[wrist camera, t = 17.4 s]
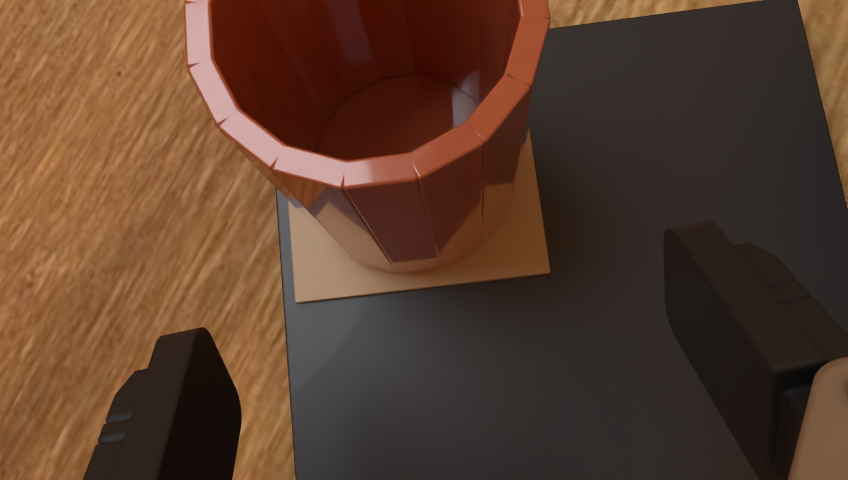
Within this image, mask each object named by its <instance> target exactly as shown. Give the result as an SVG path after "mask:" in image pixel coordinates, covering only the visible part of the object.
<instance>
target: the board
mask: <svg viewBox="0 0 848 480" xmlns="http://www.w3.org/2000/svg"><path fill="white" fill-rule="evenodd" d="M276 201H277V216H278V230H279V245H280V259H281V274H282V288H283V303H284V318H285V332H286V347H287V361H288V376H289V390H290V405H291V419H292V434H293V448H294V463H295V478H296V480H759V479H758V477H757V476H756V474H755V472H754V471H753V469H752V467H751V465H750V464H749V462H748V460H747V459H746V457H745V455H744V454H743V452H742V450H741V448H740V447H739V445H738V443H737V442H736V440H735V438H734V437H733V435H732V433H731V431H730V430H729V428H728V426H727V425H726V423H725V421H724V420H723V418H722V416H721V414H720V413H719V411H718V409H717V408H716V406H715V404H714V402H713V401H712V399H711V397H710V396H709V394H708V392H707V391H706V389H705V387H704V385H703V384H702V382H701V380H700V379H699V377H698V375H697V374H696V372H695V370H694V368H693V367H692V365H691V363H690V362H689V360H688V358H687V357H686V355H685V353H684V351H683V350H682V348H681V346H680V345H679V343H678V341H677V339H676V338H675V336H674V334H673V332H672V329H671V327H670V324H669V321H668V317H667V313H666V308H665V293H664V246H663V239H664V233H665V231H666V230H667V229H672V228H677V227H682V226H686V225H691V224H696V223H700V222H705V221H713V222H714V223H715V224H716V225H717V226H718V227H719V228H720V230H721V231H722V232H723V233H724V234H725V236H726V237H727V238H728V239H729V240H730V242H731V243H732V244H733V245H734V246H735V245H740V244H745V243H749V242H750V243H752V244H754V245H756V246H758V247H760V248H761V249H763V250H765V251H767V252H769V253H771V254H773V255H775V256H777V257H778V258H779V259H780V260H781V261H782V262H783V263H784V265H785V266H786V267H787V268H788V269H789V270H790V271H791V272H792V273H793V275H794V276H795V278H796V281H800V282H801V283H802V285H803V286H804V287H805V288H806V289H807V290H808V291H809V292H810V296H811V298H812V297H814V298H815V299H816V300H817V301H818V302H819V303H820V305H821V306H822V307H823V308H824V309H825V310H826V311H827V312H828V313H829V315H830V316H831V317H832V318H833V319H834V320H835V321H836V322H837V323H838V324H839V326H840V327H841V328H842V329H843V330H844V331H845V332H846V333H847V334H848V210H847V205H846V201H845V197H844V193H843V189H842V184H841V180H840V176H839V172H838V168H837V163H836V159H835V155H834V151H833V147H832V142H831V138H830V134H829V130H828V126H827V122H826V117H825V113H824V109H823V105H822V101H821V96H820V92H819V88H818V84H817V80H816V75H815V71H814V67H813V63H812V59H811V54H810V50H809V46H808V42H807V38H806V34H805V29H804V25H803V21H802V17H801V13H800V8H799V4H798V0H762V1H754V2H747V3H739V4H732V5H724V6H717V7H709V8H702V9H694V10H687V11H679V12H672V13H664V14H657V15H649V16H642V17H634V18H627V19H619V20H612V21H604V22H597V23H589V24H582V25H574V26H567V27H559V28H552V29H549V31H548V36H547V41H546V46H545V51H544V55H543V60H542V65H541V70H540V75H539V80H538V85H537V90H536V95H535V100H534V105H533V110H532V115H531V120H530V125H529V129H528V134H527V139H526V144H525V149H524V154H523V159H522V164H521V169H520V173H519V177H518V180H517V184H516V187H515V192H514V196H513V199H512V202H511V205H510V209H509V210H508V212H507V214H506V215H505V217H504V219H503V221H502V223H501V224H500V226H499V227H498V228H497V230H496V231H495V233H494V234H493V235H492V236H491V237H490V238H489V239H488V240H487V241H486V243H484V244H483V245H482V246H481V247H480V248H479V249H477V250H476V251H475V252H474V253H472V254H471V255H469V256H467V257H466V258H464V259H463V260H461V261H459V262H457V263H455V264H452V265H450V266H448V267H445V268H442V269H439V270H436V271H430V272H425V273H416V274H400V273H390V272H385V271H381V270H377V269H374V268H371V267H368V266H365V265H363V264H361V263H359V262H357V261H355V260H354V259H352V258H350V257H349V256H347V255H346V254H345V253H343V252H342V251H340V250H339V249H338V248H337V247H336V246H335V245H334V244H333V243H332V242H330V241H329V240H328V239H327V238H325V237H324V236H323V235H322V234H321V233H320V232H319V231H318V230H317V229H316V228H315V227H314V226H313V225H312V224H311V223H310V222H309V221H308V220H307V219H306V218H305V217H304V216H303V215H302V214H301V213H300V212H299V211H298V210H297V209H296V208H295V207H294V206H293V205H292V204H291V203H290V202H289V201H288V200H287V199H286V198H285V197H284V196H283V195H282V194H281V193H280V192H279V190H278V189H277V188H276Z"/></svg>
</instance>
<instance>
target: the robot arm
mask: <svg viewBox="0 0 848 480" xmlns="http://www.w3.org/2000/svg"><path fill="white" fill-rule="evenodd" d="M663 246H664V293H665V308H666V313H667V317H668V321H669V324H670V327H671V329H672V332H673V334H674V336H675V338H676V339H677V341H678V343H679V345H680V346H681V348H682V350H683V351H684V353H685V355H686V357H687V358H688V360H689V362H690V363H691V365H692V367H693V368H694V370H695V372H696V374H697V375H698V377H699V379H700V380H701V382H702V384H703V385H704V387H705V389H706V391H707V392H708V394H709V396H710V397H711V399H712V401H713V402H714V404H715V406H716V408H717V409H718V411H719V413H720V414H721V416H722V418H723V420H724V421H725V423H726V425H727V426H728V428H729V430H730V431H731V433H732V435H733V437H734V438H735V440H736V442H737V443H738V445H739V447H740V448H741V450H742V452H743V454H744V455H745V457H746V459H747V460H748V462H749V464H750V465H751V467H752V469H753V471H754V472H755V474H756V476H757V477H758V479H759V480H848V334H847V333H846V332H845V331H844V330H843V329H842V328H841V327H840V326H839V324H838V323H837V322H836V321H835V320H834V319H833V318H832V317H831V316H830V315H829V313H828V312H827V311H826V310H825V309H824V308H823V307H822V306H821V305H820V303H819V302H818V301H817V300H816V299H815V298H814V297H812V298H811V296H810V292H809V291H808V290H807V289H806V288H805V287H804V286H803V285H802V283H801V282H800V281H796V278H795V276H794V275H793V273H792V272H791V271H790V270H789V269H788V268H787V267H786V266H785V265H784V263H783V262H782V261H781V260H780V259H779V258H778V257H777V256H775V255H773V254H771V253H769V252H767V251H765V250H763V249H761V248H760V247H758V246H756V245H754V244H752V243H750V242H749V243H745V244H740V245H735V246H734V245H733V244H732V243H731V242H730V240H729V239H728V238H727V237H726V236H725V234H724V233H723V232H722V231H721V230H720V228H719V227H718V226H717V225H716V224H715V223H714V222H713V221H705V222H700V223H696V224H691V225H686V226H682V227H677V228H672V229H667V230H666V231H665V233H664V239H663ZM241 419H242V418H241V406H240V400H239V396H238V393H237V390H236V388H235V386H234V383H233V381H232V379H231V377H230V375H229V373H228V371H227V368H226V366H225V364H224V362H223V360H222V358H221V356H220V353H219V351H218V349H217V347H216V345H215V343H214V341H213V338H212V336H211V334H210V333H209V331H208V330H207V329H206V328H204V327H201V328H196V329H192V330H187V331H182V332H178V333H173V334H168V335H164V336H160V337H159V338H158V340H157V342H156V345H155V348H154V350H153V353H152V356H151V359H150V362H149V365H148V368H147V369H143V370H138V371H135V372H134V373H133V374H132V375H131V376H130V378H129V379H128V380H127V381H126V383H125V384H124V385H123V386H122V387H121V389H120V390H119V391H118V392H117V393H116V395H115V397H114V399H113V402H112V404H111V407H110V410H109V412H108V415H107V418H106V424H105V425H103V428H102V431H101V433H100V436H99V439H98V441H99V445H96V447H95V449H94V452H93V454H92V457H91V460H90V462H89V465H88V468H87V470H86V473H85V475H84V478H83V480H232V477H233V471H234V465H235V459H236V453H237V447H238V441H239V435H240V429H241Z"/></svg>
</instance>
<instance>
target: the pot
mask: <svg viewBox="0 0 848 480" xmlns="http://www.w3.org/2000/svg"><path fill="white" fill-rule="evenodd" d="M184 22H185V45H186V66H187V68H188V73H189V75H190V77H191V79H192V80H193V82H194V84H195V86H196V88H197V90H198V92H199V94H200V96H201V98H202V100H203V102H204V104H205V106H206V108H207V110H208V112H209V114H210V116H211V118H212V120H213V122H214V124H215V125H216V126H217V127H218V128H219V130H220V131H221V132H222V133H223V134H224V135H225V136H226V137H227V138H228V139H229V140H230V141H231V142H232V144H233V145H234V146H235V147H236V148H237V149H238V150H239V151H240V152H241V153H242V154H243V155H244V156H245V157H246V158H247V159H248V160H249V161H250V162H251V163H252V164H253V165H254V166H255V167H256V168H257V169H258V170H259V171H260V172H261V173H262V174H263V175H264V176H265V177H266V178H267V179H268V180H269V181H270V182H271V183H272V184H273V185H274V186H275V187H276V188H277V189H278V190H279V192H280V193H281V194H282V195H283V196H284V197H285V198H286V199H287V200H288V201H289V202H290V203H291V204H292V205H293V206H294V207H295V208H296V209H297V210H298V211H299V212H300V213H301V214H302V215H303V216H304V217H305V218H306V219H307V220H308V221H309V222H310V223H311V224H312V225H313V226H314V227H315V228H316V229H317V230H318V231H319V232H320V233H321V234H322V235H323V236H324V237H325V238H327V239H328V240H329V241H330V242H332V243H333V244H334V245H335V246H336V247H337V248H338V249H339V250H340V251H342V252H343V253H345V254H346V255H347V256H349V257H350V258H352V259H354V260H355V261H357V262H359V263H361V264H363V265H365V266H368V267H371V268H374V269H377V270H381V271H385V272H390V273H400V274H416V273H425V272H430V271H436V270H439V269H442V268H445V267H448V266H450V265H452V264H455V263H457V262H459V261H461V260H463V259H464V258H466V257H467V256H469V255H471V254H472V253H474V252H475V251H476V250H477V249H479V248H480V247H481V246H482V245H483V244H484V243H486V241H487V240H488V239H489V238H490V237H491V236H492V235H493V234H494V233H495V231H496V230H497V228H498V227H499V226H500V224H501V223H502V221H503V219H504V217H505V215H506V214H507V212H508V210H509V209H510V205H511V202H512V199H513V196H514V192H515V187H516V184H517V180H518V177H519V173H520V169H521V164H522V159H523V154H524V149H525V144H526V139H527V134H528V129H529V125H530V120H531V115H532V110H533V105H534V100H535V95H536V90H537V85H538V80H539V75H540V70H541V65H542V60H543V55H544V51H545V46H546V41H547V36H548V31H549V26H550V12H549V6H548V0H185V3H184Z"/></svg>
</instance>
